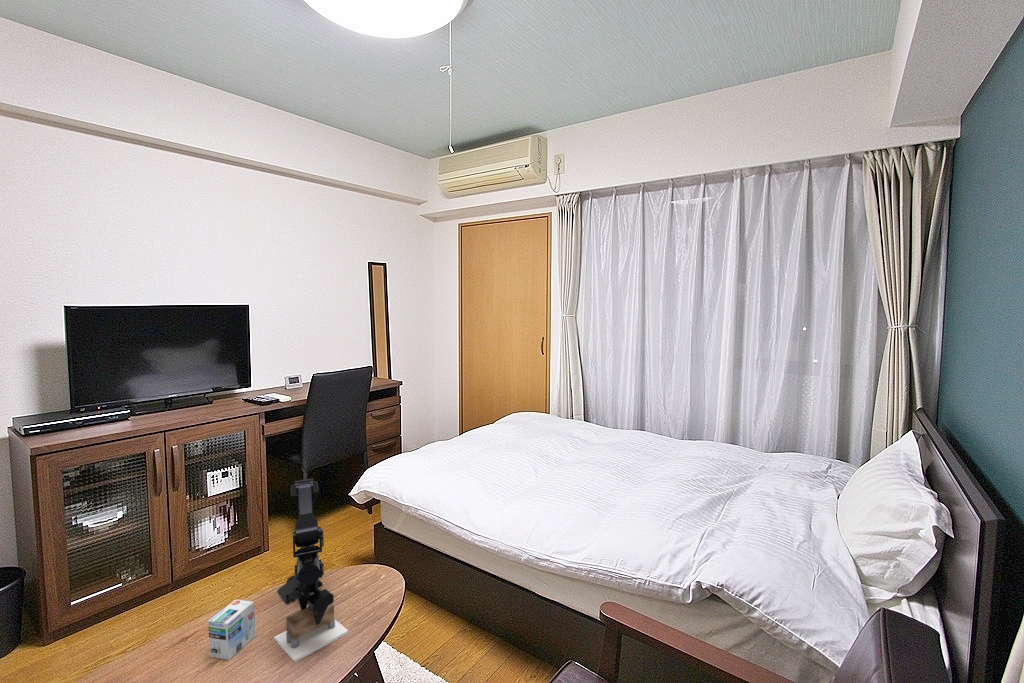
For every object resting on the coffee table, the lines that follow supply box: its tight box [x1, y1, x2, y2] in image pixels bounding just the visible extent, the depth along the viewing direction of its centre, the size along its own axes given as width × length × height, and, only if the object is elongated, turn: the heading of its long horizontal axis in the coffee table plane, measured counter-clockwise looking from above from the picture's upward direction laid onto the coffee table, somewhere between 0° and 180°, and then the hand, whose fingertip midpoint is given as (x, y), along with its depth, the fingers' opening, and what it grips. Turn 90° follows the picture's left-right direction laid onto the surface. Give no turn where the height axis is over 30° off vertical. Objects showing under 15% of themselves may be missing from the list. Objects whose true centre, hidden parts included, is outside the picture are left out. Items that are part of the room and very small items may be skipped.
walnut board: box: [286, 603, 335, 640], centre depth 143 cm, size 12×5×4 cm, turn 138°
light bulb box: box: [207, 598, 257, 661], centre depth 140 cm, size 11×7×11 cm, turn 168°
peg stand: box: [273, 617, 349, 663], centre depth 144 cm, size 14×16×3 cm
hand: (310, 617), depth 143 cm, fingers open, 9 cm apart
